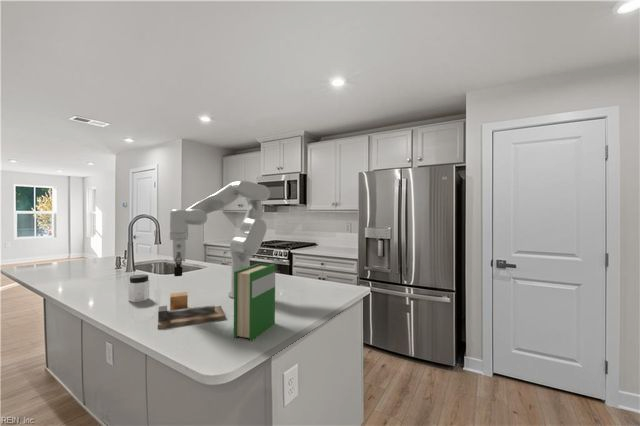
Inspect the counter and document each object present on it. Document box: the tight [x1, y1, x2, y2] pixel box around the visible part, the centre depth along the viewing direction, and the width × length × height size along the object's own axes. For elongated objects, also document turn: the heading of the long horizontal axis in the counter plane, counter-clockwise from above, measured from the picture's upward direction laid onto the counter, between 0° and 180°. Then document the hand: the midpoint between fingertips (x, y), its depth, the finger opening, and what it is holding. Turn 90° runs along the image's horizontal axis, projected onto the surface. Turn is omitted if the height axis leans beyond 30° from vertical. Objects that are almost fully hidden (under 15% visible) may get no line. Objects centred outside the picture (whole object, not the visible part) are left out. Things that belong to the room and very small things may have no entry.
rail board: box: [157, 304, 226, 329], centre depth 127 cm, size 25×14×6 cm, turn 116°
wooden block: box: [169, 291, 189, 311], centre depth 137 cm, size 7×6×7 cm
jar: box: [128, 273, 150, 303], centre depth 151 cm, size 9×8×12 cm
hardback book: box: [233, 262, 276, 342], centre depth 115 cm, size 18×7×24 cm, turn 161°
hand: (178, 273), depth 137 cm, fingers open, 9 cm apart
